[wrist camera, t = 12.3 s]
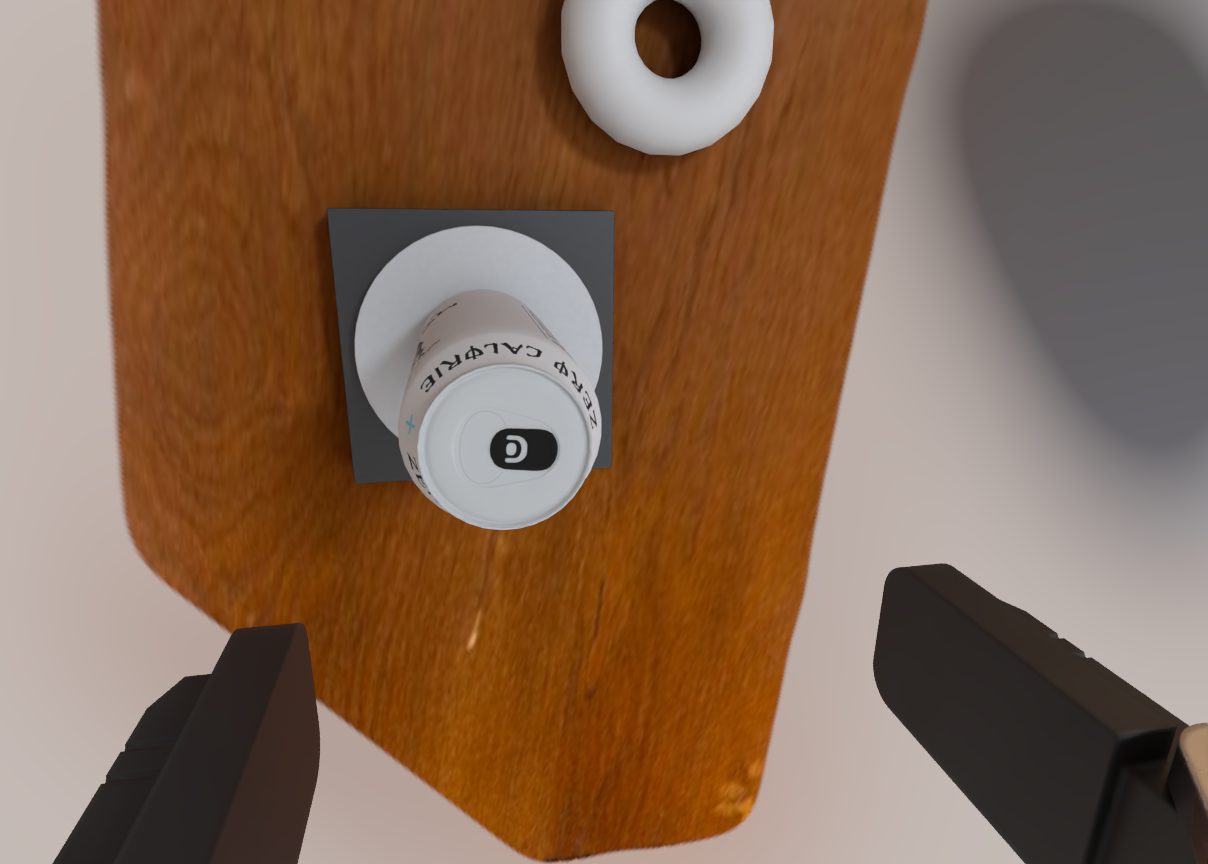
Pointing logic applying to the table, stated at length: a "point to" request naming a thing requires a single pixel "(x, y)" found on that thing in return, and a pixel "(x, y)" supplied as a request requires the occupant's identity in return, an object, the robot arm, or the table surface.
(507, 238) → the scale
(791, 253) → the table surface
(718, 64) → the donut
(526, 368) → the energy drink can
